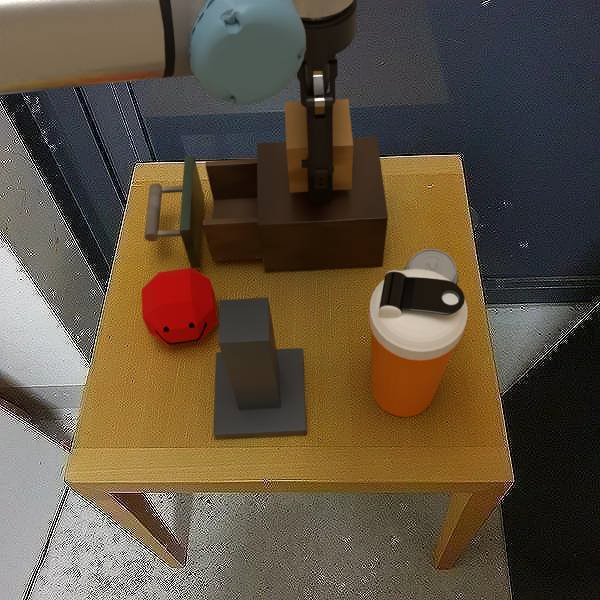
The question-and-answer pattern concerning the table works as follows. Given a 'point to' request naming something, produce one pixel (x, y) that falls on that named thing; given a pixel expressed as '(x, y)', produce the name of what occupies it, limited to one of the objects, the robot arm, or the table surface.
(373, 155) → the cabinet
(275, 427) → the stand
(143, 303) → the red faceted polyhedron
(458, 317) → the shaker bottle
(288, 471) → the table surface
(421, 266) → the beverage can
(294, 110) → the oak block
